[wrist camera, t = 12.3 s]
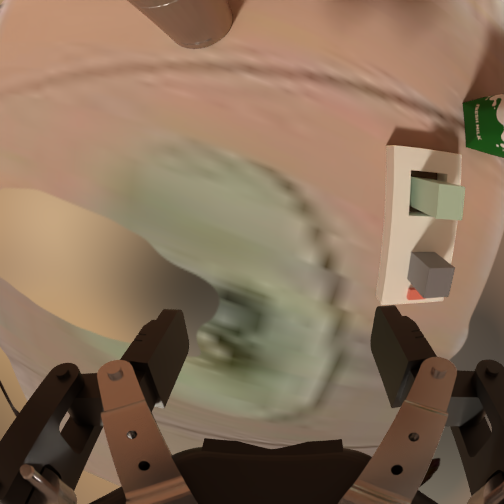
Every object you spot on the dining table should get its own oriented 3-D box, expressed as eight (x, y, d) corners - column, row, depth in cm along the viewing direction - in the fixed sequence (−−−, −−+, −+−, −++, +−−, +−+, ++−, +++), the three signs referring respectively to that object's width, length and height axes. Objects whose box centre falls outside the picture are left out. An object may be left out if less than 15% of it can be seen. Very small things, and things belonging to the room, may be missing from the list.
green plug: (408, 176, 35) (439, 183, 26) (431, 178, 35) (465, 186, 26) (406, 204, 36) (436, 218, 28) (429, 205, 36) (461, 220, 27)
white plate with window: (386, 145, 34) (413, 144, 26) (450, 153, 33) (486, 157, 24) (375, 295, 41) (393, 327, 33) (435, 292, 40) (460, 320, 31)
